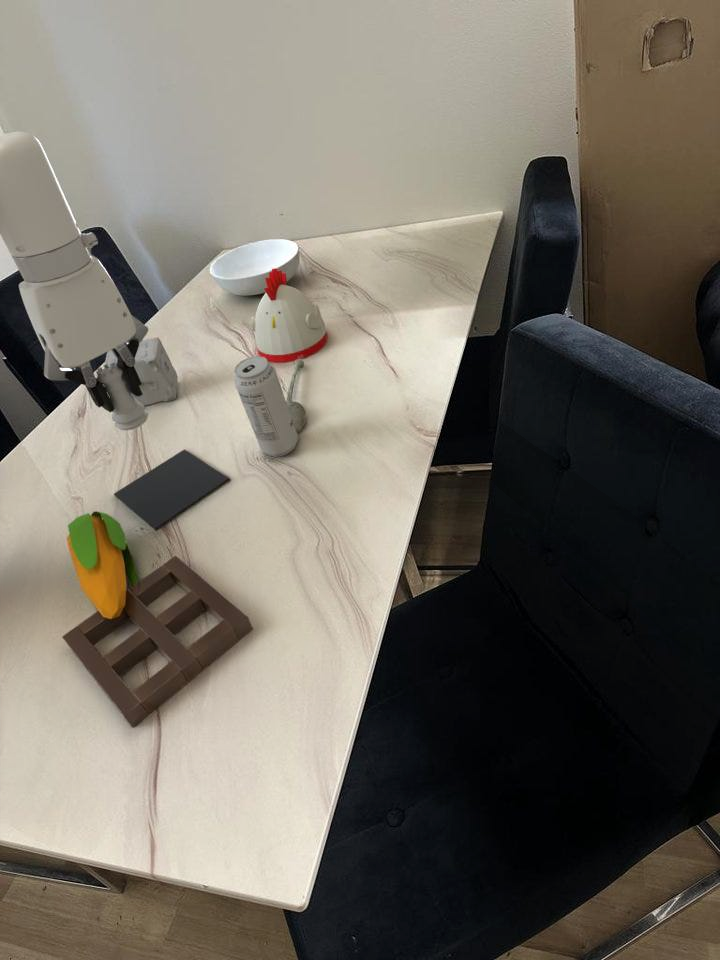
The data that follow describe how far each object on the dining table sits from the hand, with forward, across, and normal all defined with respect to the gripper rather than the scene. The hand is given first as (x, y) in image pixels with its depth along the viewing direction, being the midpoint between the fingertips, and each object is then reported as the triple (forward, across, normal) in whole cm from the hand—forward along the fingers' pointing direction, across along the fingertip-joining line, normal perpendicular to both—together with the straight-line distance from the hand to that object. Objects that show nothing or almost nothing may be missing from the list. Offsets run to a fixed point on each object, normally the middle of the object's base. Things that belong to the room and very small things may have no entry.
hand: (121, 399), depth 84 cm
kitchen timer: (+19, -41, -23) cm, 51 cm away
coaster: (+19, -2, -5) cm, 20 cm away
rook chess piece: (+4, 0, 0) cm, 4 cm away
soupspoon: (+19, -28, -7) cm, 35 cm away
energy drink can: (+19, -19, +2) cm, 27 cm away
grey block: (+19, -14, -32) cm, 40 cm away
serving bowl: (+19, -56, -54) cm, 80 cm away
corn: (+19, +13, +6) cm, 24 cm away
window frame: (+19, +13, +19) cm, 30 cm away
